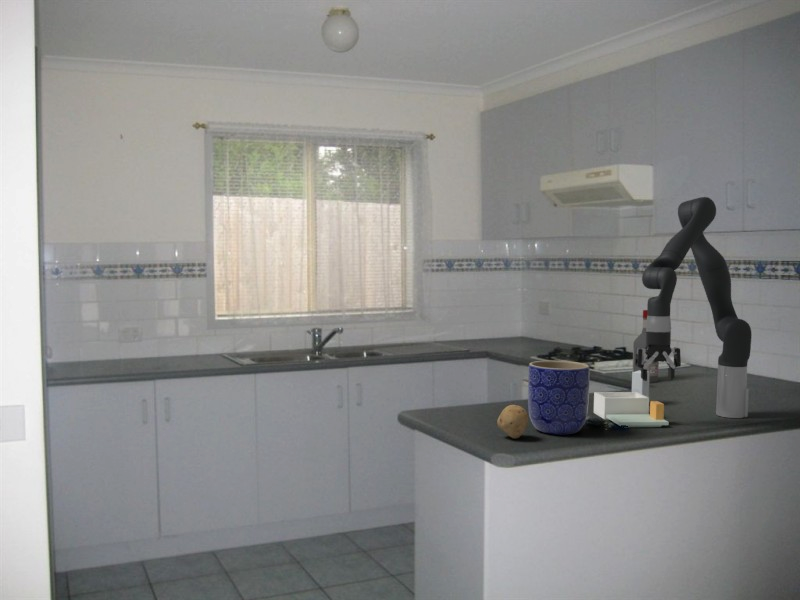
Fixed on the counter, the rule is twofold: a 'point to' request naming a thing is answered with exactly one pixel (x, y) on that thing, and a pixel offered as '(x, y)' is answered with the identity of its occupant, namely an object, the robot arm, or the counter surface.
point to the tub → (620, 403)
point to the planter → (558, 396)
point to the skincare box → (640, 383)
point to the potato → (513, 421)
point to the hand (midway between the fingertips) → (657, 380)
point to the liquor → (641, 343)
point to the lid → (642, 417)
